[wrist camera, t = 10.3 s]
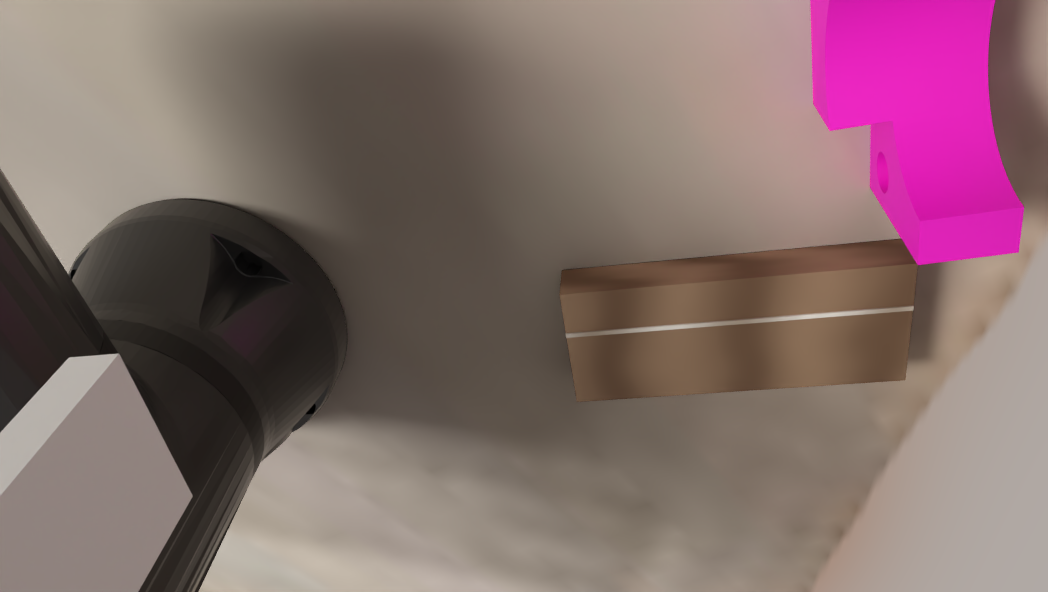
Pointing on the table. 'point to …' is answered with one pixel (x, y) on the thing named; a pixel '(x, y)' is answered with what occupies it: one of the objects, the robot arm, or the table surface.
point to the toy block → (920, 118)
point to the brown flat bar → (740, 321)
